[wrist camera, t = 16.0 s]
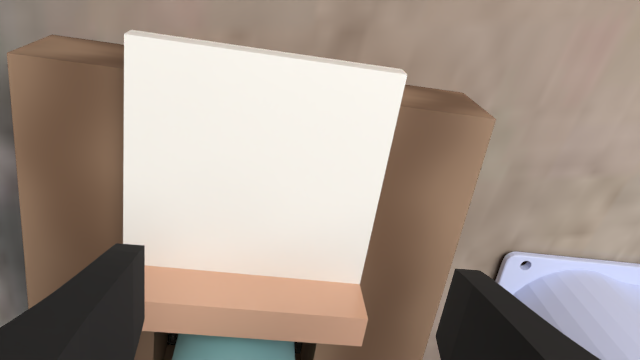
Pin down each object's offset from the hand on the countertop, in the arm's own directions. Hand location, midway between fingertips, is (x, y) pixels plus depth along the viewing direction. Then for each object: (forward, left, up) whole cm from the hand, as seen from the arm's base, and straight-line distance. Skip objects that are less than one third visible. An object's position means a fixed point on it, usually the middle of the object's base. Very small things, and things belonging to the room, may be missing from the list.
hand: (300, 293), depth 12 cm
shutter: (+1, 0, -7) cm, 7 cm away
